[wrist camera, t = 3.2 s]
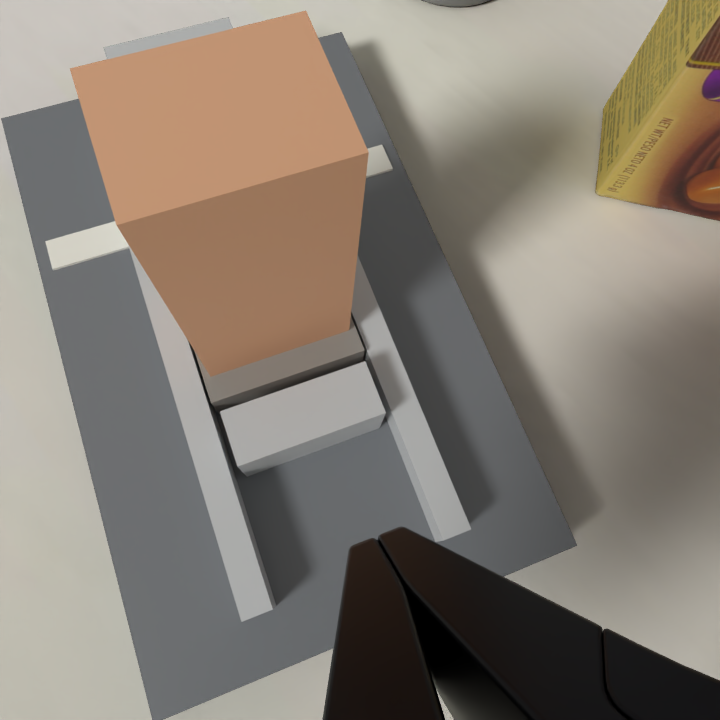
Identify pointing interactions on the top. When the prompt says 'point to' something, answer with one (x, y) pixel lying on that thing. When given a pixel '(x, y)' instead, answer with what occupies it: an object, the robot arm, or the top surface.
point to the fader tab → (238, 197)
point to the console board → (272, 423)
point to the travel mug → (456, 2)
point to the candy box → (668, 116)
